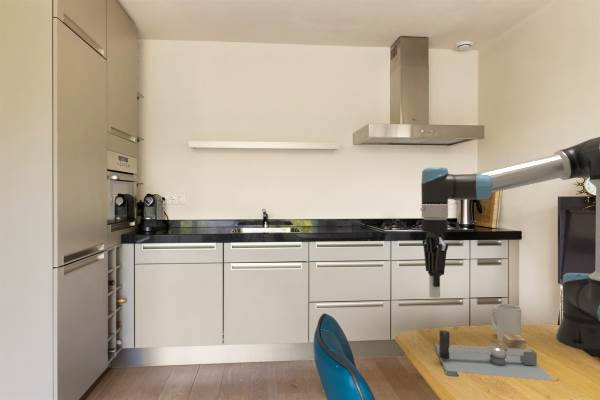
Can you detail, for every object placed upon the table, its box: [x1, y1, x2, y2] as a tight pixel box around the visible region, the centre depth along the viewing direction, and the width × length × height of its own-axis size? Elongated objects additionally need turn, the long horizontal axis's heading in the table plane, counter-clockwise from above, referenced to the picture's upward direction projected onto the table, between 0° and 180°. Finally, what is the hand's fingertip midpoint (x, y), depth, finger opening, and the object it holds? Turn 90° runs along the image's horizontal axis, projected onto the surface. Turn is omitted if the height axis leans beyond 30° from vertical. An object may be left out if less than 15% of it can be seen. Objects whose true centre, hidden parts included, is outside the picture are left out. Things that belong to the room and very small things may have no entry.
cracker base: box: [434, 343, 555, 382], centre depth 101 cm, size 25×18×3 cm
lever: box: [438, 329, 538, 365], centre depth 100 cm, size 25×4×7 cm, turn 84°
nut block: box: [502, 334, 527, 356], centre depth 107 cm, size 4×4×4 cm
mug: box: [489, 303, 522, 343], centre depth 118 cm, size 10×7×12 cm, turn 21°
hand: (434, 296), depth 110 cm, fingers closed
